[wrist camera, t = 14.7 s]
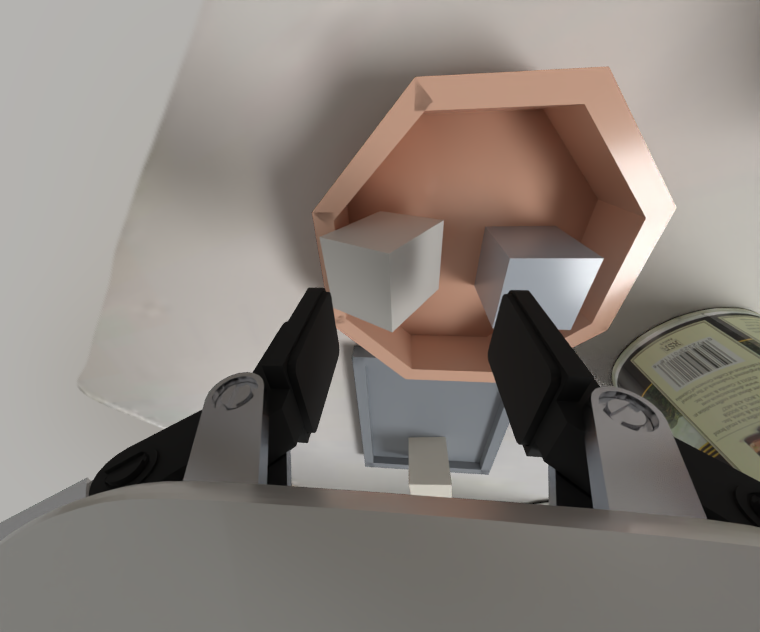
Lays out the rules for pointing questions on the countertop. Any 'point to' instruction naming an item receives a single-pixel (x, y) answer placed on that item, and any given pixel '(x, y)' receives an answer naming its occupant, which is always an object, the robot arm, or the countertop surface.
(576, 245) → the matte gray cube
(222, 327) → the countertop surface
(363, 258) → the pebble grey
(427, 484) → the cream foam cube
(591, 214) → the bowl
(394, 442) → the tray
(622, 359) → the coffee can
